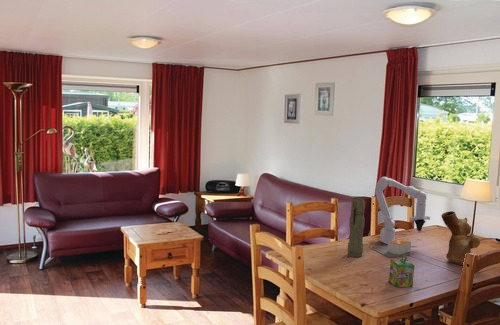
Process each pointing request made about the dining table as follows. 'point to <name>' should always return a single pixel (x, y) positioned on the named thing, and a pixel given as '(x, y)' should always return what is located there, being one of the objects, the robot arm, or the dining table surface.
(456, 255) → the ceramic vessel
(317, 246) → the dining table surface
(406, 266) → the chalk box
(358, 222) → the olive green carved pillar
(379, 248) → the mat
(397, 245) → the small box
